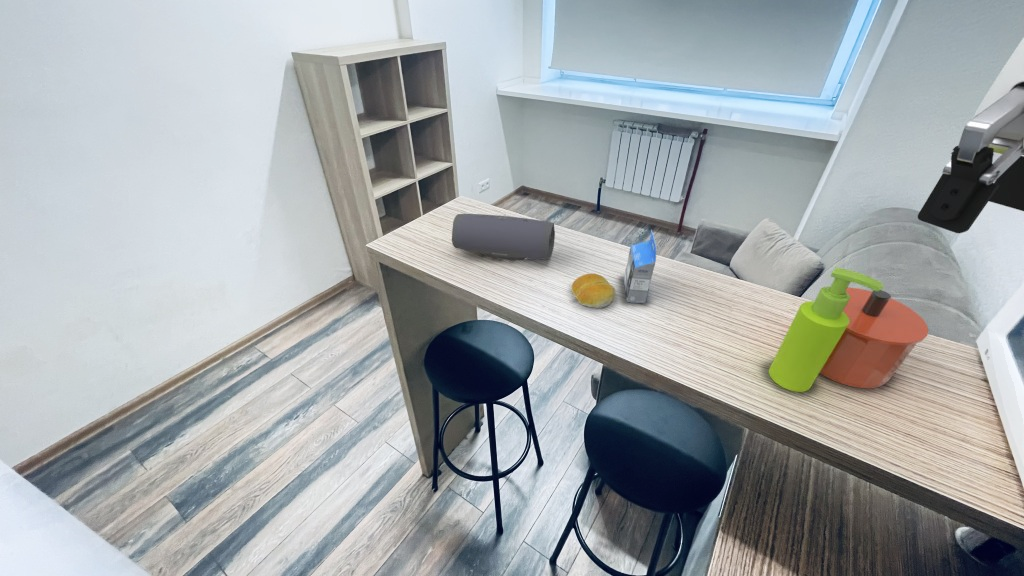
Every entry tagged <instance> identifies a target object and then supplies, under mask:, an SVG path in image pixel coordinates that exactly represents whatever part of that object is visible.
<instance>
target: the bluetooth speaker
mask: <svg viewBox="0 0 1024 576" xmlns="http://www.w3.org/2000/svg"><path fill="white" fill-rule="evenodd" d="M555 230H556V229H555V222H551V221H546V220H540V219H535V218H527V217H518V216H508V215H498V214H484V213H483V214H481V213H457V214H456V215H455V216H454V218H453V221H452V230H451V243H452V246H453V248H454V249H457V250H462V251H465V252H471V253H477V254H482V256H483V257H487V258H491V259H498V260H505V261H506V260H507V261H519V262H520V261H525V260H526V259H533V260H551V257H552V254H553V253H554V246H555V239H556V231H555Z"/></svg>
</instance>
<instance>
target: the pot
mask: <svg viewBox="0 0 1024 576" xmlns="http://www.w3.org/2000/svg"><path fill="white" fill-rule="evenodd" d="M917 344H918V343H916V344H912V345H892V344H885V343H880V342H876V341H872V340H869V339H866V338H863V337H860V336H858V335H855V334H853V333H851V332H849V331H846V330H845V331H844V333H843V334H842V336H841V338H840V339H839V341H838V343H837V344H836V346H835V348H834V349H833V351H832V353H831V354H830V356H829V358H828V359H827V361H826V363H825V364H824V366H823V368H822V369H821V371H820V373H819V375H821V376H823V377H825V378H827V379H830V380H831V381H833V382H836V383H839V384H841V385H845V386H849V387H853V388H857V389H858V388H860V389H876V388H879V387H882V386H884V385H885V384H886V383H888V382H890V380H891V378H892V377H893V376H894V374H895V373H896V372H897V370H898V369H900V367H901V365H902V364H903V362H904V361H905V359H906V358H907V357H908V356H909V354H910V353H911V352H912V350H913V349H914V348H915V346H916V345H917Z"/></svg>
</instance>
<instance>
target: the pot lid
mask: <svg viewBox="0 0 1024 576" xmlns="http://www.w3.org/2000/svg"><path fill="white" fill-rule="evenodd" d="M845 292H846V293H848V294H849V296H850V300H849V301H848V303H847V305H846V307H845V308H844V310H843V312H844V313H845V314H846V315H847V316H848V318H849V324H848V326H847V328H846V329H845V330H846V331H849V332H851V333H853V334H855V335H858V336H860V337H863V338H866V339H869V340H872V341H876V342H880V343H885V344H892V345H912V344H916V343H917V344H919V343H921V342H923V341H924V340H925V339H926V338H927V337H928V334H929V326H928V325H927V323H926V321H925V320H924V318H923V317H922V316H921V315H920V314H918V313H917V312H916V311H915V310H913V309H912V308H911V307H909V306H908V305H906V304H903V303H902V302H900V301H898V300H896V299H893V298H892V295H891V294H890V293H889V292H887V291H885V290H883V289H882V290H881V291H874V290H872V291H871V290H867V289H863V288H858V287H857V288H856V287H849V286H848V287H847V289H846V291H845ZM917 344H916V345H917Z"/></svg>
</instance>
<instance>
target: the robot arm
mask: <svg viewBox="0 0 1024 576" xmlns="http://www.w3.org/2000/svg"><path fill="white" fill-rule="evenodd" d="M1000 70H1001V71H1000V72H999V73H998V74H997V76H996V78H995V80H994V81H993V83H992V84H991V86H990V88H989V89H988V90H987V92H986V94H985V96H984V97H983V99H982V100H981V102H980V104H979V106H978V108H977V109H976V111H975V113H974V115H973V116H972V118H971V119H970V120H968V122H967V123H966V124H965V126H964V128H963V130H962V133H961V136H960V139H959V141H958V142H959V143H958V145H956V146H955V147H953V148H952V152H951V153H950V154H951V156H950V160H949V161H948V162H947V163H946V164H945V166H944V167H943V169H942V173H941V176H940V177H939V179H938V180H937V182H936V184H935V185H934V187H933V189H932V191H931V192H930V194H929V195H928V197H927V199H926V201H925V202H924V204H923V206H922V207H921V209H920V210H919V212H918V214H917V219H918V220H919V221H920V222H923V223H926V224H929V225H932V226H935V227H938V228H940V229H943V230H947V231H950V232H953V233H955V234H962V233H966V232H968V231H969V230H970V229H971V228H972V226H973V224H974V223H975V221H976V220H977V219H978V217H979V216H980V215H981V213H982V212H983V210H984V209H985V207H986V206H987V204H988V203H993V204H997V205H1000V206H1003V207H1007V208H1011V209H1014V210H1017V211H1021V212H1024V36H1023V37H1022V39H1020V42H1019V43H1018V45H1017V46H1016V48H1015V49H1014V51H1013V52H1012V54H1011V55H1010V57H1009V58H1008V59H1007V61H1006V63H1005V64H1004V66H1003V67H1002V69H1000ZM994 153H996V154H1000V156H998V157H997V158H996V159H995V160H994V155H995V154H994ZM993 160H994V161H993Z"/></svg>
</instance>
